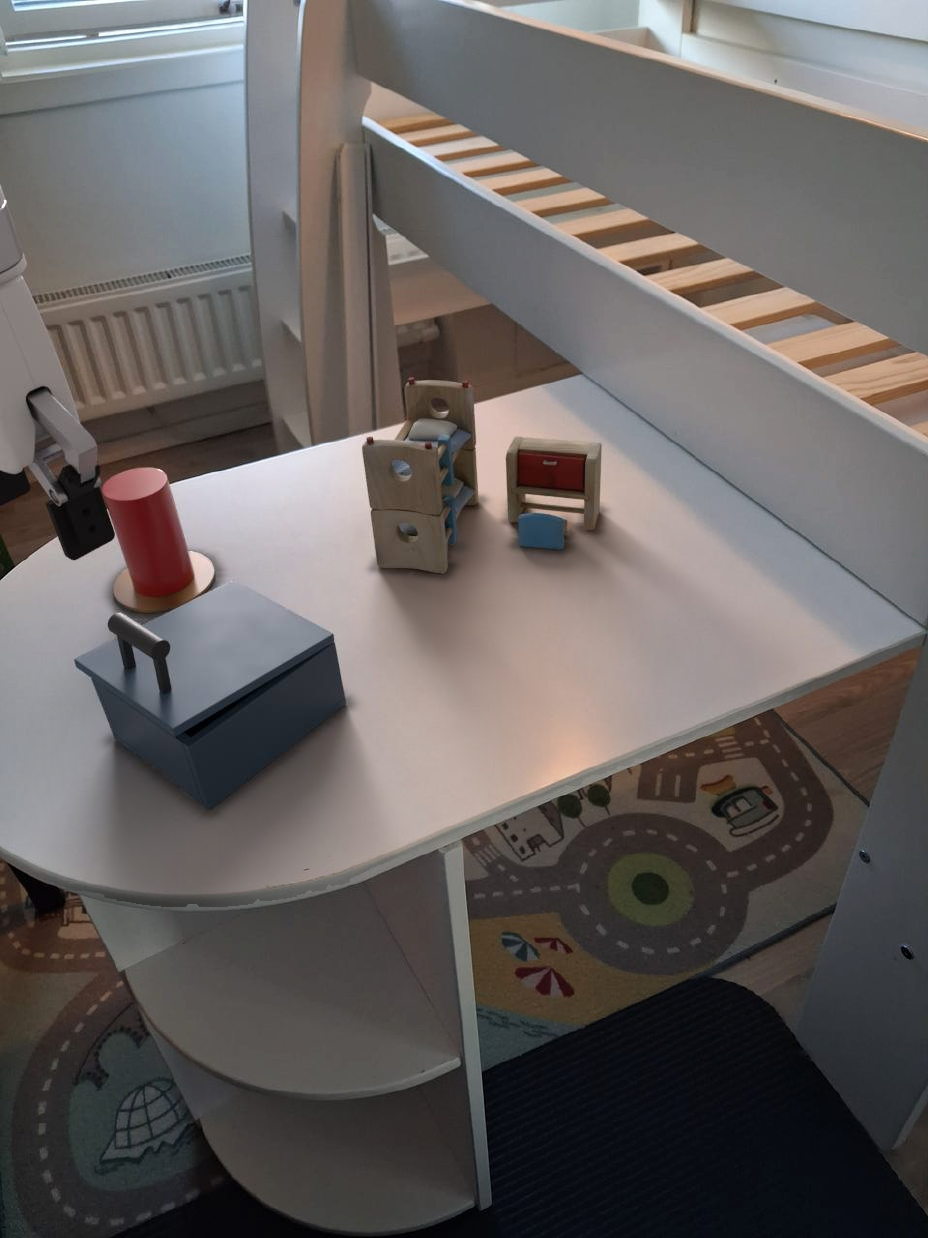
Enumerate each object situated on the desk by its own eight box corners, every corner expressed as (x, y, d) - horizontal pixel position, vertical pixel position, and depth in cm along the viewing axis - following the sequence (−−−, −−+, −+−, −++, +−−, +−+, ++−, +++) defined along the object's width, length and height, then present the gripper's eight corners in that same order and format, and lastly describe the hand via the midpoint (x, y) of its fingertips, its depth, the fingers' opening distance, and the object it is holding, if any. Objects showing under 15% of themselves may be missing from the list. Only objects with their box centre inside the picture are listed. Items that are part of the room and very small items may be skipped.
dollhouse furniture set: (577, 589, 94) (579, 458, 85) (377, 567, 99) (359, 441, 90) (599, 509, 105) (603, 385, 96) (417, 493, 109) (405, 374, 101)
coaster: (128, 625, 94) (127, 622, 94) (103, 574, 101) (102, 571, 100) (228, 589, 97) (228, 586, 97) (197, 542, 104) (196, 539, 104)
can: (142, 604, 96) (110, 507, 89) (126, 574, 100) (94, 479, 93) (202, 583, 98) (175, 487, 91) (184, 554, 102) (157, 460, 95)
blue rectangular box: (209, 810, 75) (188, 748, 71) (114, 739, 82) (90, 678, 78) (346, 703, 83) (335, 642, 79) (250, 646, 90) (234, 587, 86)
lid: (174, 737, 69) (162, 676, 66) (75, 667, 76) (60, 608, 73) (334, 641, 79) (330, 584, 76) (234, 586, 86) (226, 532, 83)
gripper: (-197, 243, 54) (-73, 507, 65) (-43, 305, 45) (72, 601, 56) (-67, 206, 59) (29, 460, 69) (97, 256, 49) (179, 540, 60)
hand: (48, 523), depth 63 cm, fingers open, 9 cm apart
